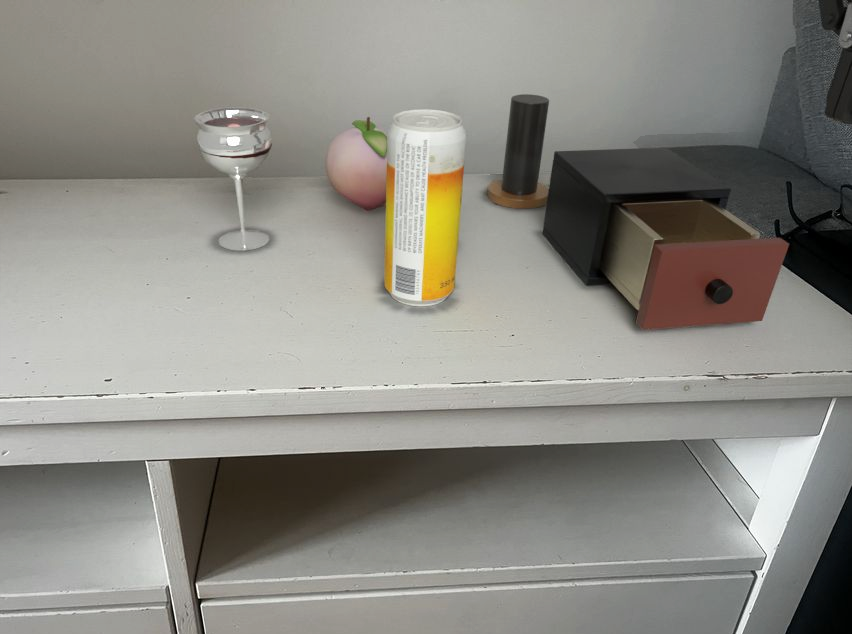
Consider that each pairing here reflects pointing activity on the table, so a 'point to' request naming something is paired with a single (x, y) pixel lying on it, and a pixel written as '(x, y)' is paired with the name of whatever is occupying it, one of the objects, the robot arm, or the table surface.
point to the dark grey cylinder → (524, 144)
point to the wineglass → (235, 158)
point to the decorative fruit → (359, 164)
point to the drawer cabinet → (613, 196)
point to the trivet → (517, 196)
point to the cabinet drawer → (689, 263)
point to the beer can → (423, 205)
